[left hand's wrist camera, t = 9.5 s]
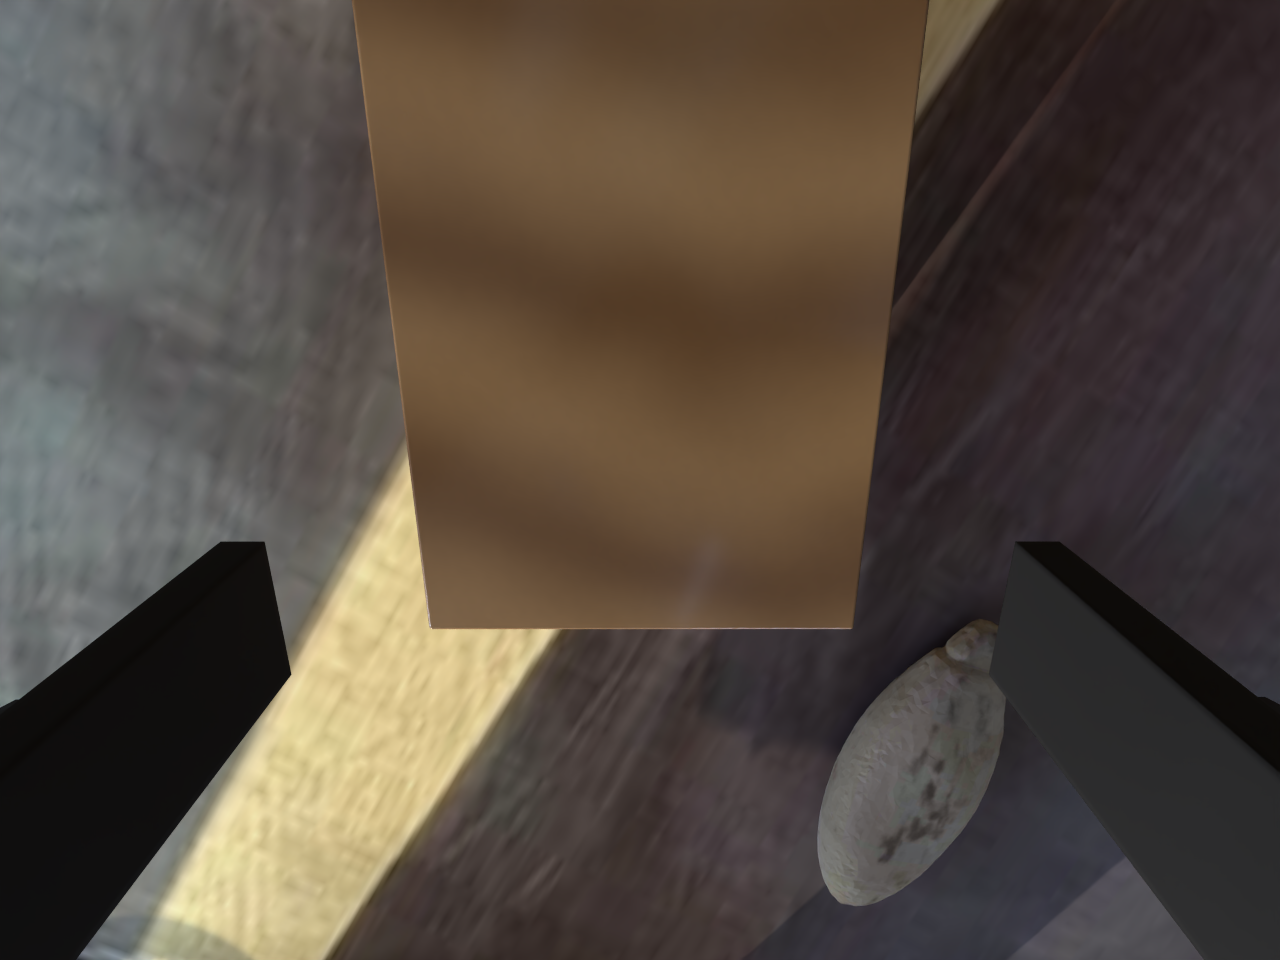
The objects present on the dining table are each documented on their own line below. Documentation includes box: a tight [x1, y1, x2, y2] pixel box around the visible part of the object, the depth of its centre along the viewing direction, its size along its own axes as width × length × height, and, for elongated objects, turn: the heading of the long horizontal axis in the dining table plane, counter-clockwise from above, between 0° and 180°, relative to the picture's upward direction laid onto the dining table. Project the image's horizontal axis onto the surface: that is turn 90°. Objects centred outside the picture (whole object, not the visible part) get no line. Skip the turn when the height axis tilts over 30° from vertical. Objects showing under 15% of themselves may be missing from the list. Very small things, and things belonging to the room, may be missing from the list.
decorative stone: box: [817, 619, 1006, 906], centre depth 32 cm, size 6×16×3 cm, turn 164°
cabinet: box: [352, 0, 929, 629], centre depth 20 cm, size 17×11×11 cm, turn 0°
